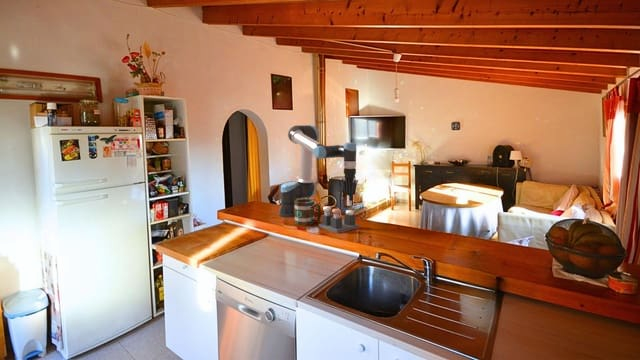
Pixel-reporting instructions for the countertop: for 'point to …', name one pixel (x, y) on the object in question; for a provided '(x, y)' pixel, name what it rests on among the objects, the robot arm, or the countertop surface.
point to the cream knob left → (349, 212)
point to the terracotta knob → (336, 212)
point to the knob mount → (338, 223)
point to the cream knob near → (326, 210)
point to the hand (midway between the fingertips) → (349, 205)
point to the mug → (305, 212)
